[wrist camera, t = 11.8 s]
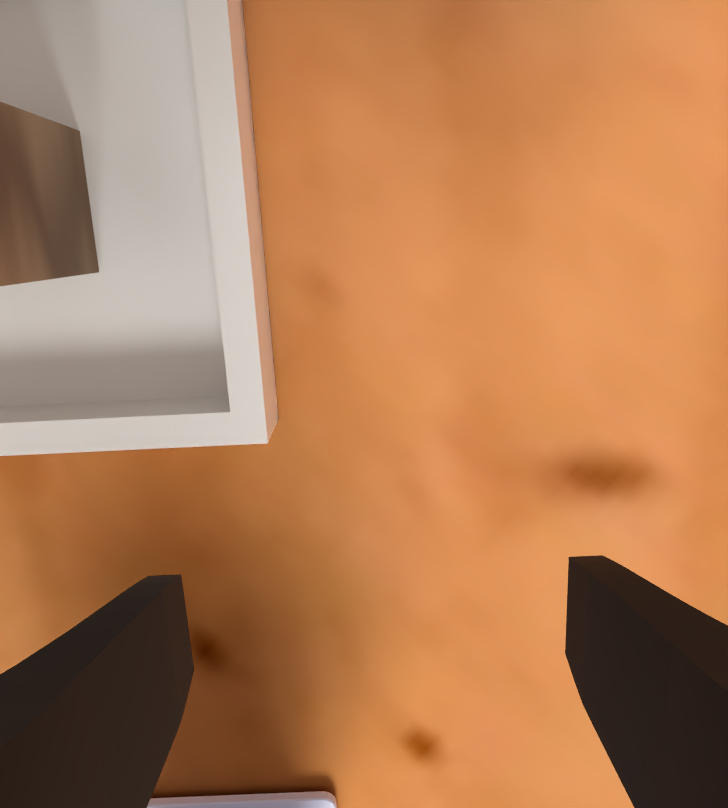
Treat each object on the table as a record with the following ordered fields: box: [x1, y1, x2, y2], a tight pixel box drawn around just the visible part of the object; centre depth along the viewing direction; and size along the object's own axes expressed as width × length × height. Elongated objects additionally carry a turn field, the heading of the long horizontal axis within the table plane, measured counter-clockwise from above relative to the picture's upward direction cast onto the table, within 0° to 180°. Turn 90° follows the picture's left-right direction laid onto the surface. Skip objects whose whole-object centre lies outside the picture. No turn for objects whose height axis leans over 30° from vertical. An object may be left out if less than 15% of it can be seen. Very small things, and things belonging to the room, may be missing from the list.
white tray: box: [0, 0, 279, 456], centre depth 18 cm, size 14×14×2 cm
